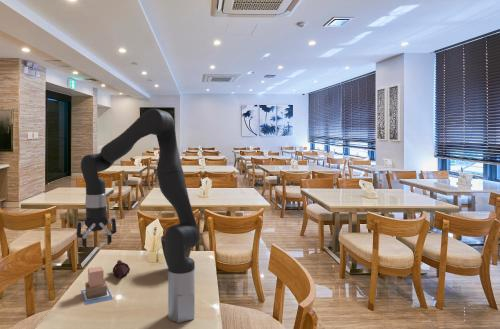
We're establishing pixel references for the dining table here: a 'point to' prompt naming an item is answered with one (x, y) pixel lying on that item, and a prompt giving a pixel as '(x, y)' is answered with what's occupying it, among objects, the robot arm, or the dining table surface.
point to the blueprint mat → (97, 299)
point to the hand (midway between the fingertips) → (97, 245)
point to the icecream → (121, 269)
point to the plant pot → (186, 252)
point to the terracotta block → (95, 277)
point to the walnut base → (95, 291)
